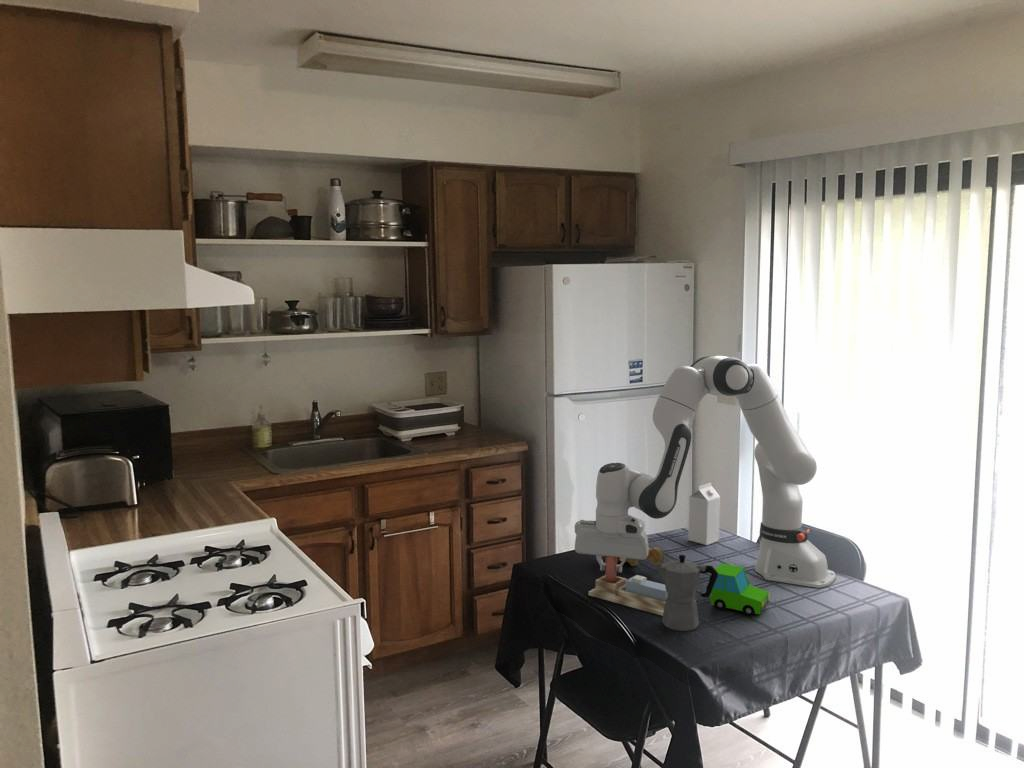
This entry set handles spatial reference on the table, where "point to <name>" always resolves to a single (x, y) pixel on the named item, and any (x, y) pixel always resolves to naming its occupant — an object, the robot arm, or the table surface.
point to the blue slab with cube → (646, 588)
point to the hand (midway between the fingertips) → (611, 570)
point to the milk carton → (704, 515)
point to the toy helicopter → (654, 556)
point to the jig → (625, 596)
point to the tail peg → (611, 569)
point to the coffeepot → (683, 592)
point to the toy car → (737, 591)
